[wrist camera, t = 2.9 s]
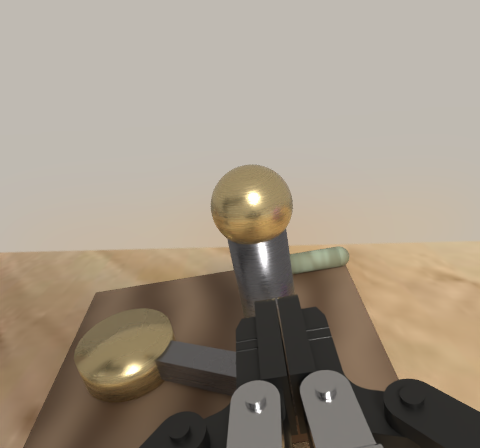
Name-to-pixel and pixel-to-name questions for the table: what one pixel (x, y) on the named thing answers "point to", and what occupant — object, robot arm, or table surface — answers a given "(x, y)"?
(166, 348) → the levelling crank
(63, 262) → the table surface
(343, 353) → the walnut base
